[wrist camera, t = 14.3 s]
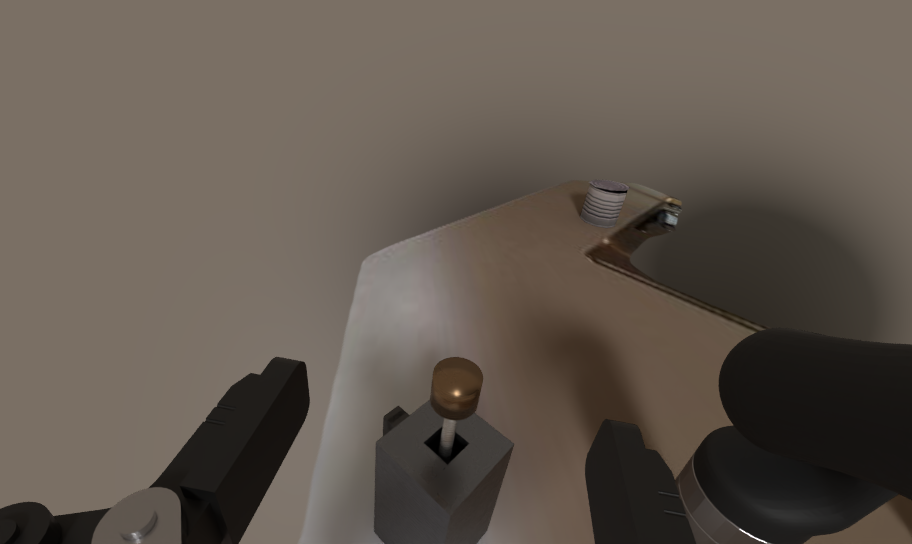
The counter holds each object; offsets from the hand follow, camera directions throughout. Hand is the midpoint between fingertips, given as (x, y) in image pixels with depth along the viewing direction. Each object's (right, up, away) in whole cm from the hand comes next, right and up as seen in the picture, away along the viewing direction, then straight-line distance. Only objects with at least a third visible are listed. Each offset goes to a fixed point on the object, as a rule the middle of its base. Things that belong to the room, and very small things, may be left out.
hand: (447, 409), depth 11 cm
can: (+45, +20, +117) cm, 127 cm away
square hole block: (-4, -25, +36) cm, 43 cm away
